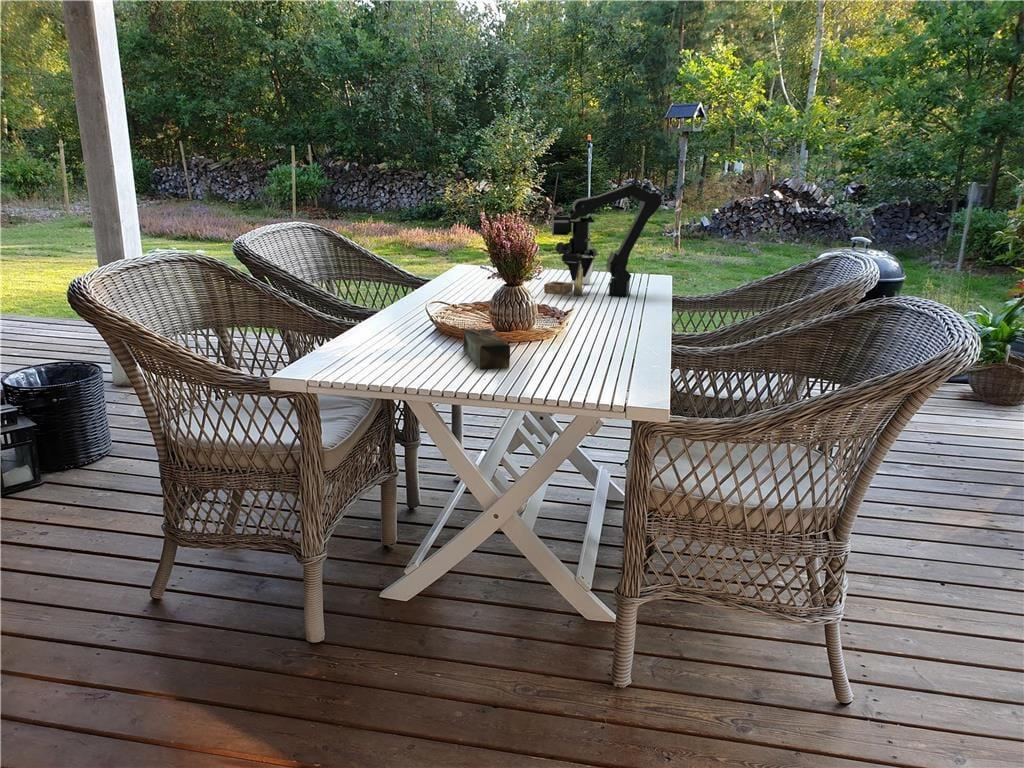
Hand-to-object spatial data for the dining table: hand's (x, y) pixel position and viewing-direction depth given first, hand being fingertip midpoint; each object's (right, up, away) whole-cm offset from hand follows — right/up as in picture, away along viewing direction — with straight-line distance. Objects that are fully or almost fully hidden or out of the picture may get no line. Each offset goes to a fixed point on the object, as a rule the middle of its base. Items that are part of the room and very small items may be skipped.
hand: (578, 278), depth 273 cm
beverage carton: (-31, -32, -80) cm, 92 cm away
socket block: (-7, -4, +7) cm, 11 cm away
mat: (-1, -6, +2) cm, 6 cm away
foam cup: (+3, +2, +27) cm, 27 cm away
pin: (0, -6, +2) cm, 6 cm away
